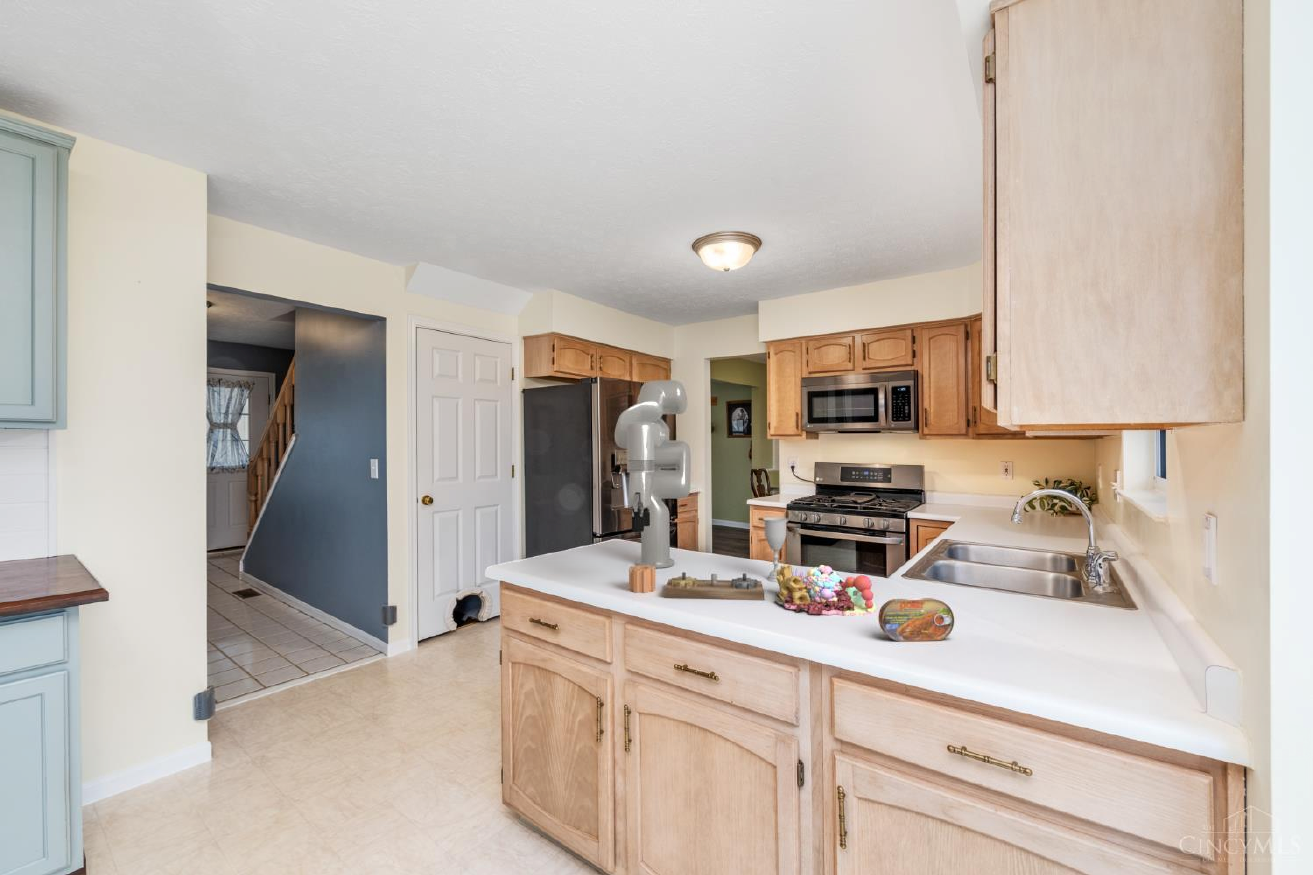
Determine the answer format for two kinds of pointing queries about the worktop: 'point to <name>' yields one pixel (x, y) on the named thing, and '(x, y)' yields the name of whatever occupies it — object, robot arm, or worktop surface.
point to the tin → (916, 619)
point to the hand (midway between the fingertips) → (641, 528)
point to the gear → (642, 578)
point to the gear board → (714, 588)
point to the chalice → (775, 539)
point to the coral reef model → (824, 592)
